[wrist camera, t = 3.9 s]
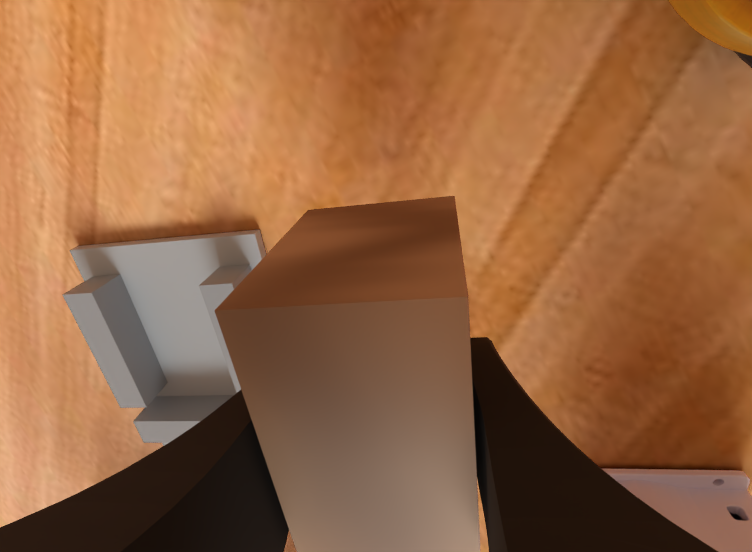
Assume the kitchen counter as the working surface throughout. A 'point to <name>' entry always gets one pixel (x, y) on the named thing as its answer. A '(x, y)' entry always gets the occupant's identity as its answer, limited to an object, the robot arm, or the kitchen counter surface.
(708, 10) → the toy road roller
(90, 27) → the kitchen counter surface
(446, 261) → the small taupe brick
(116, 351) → the jig
